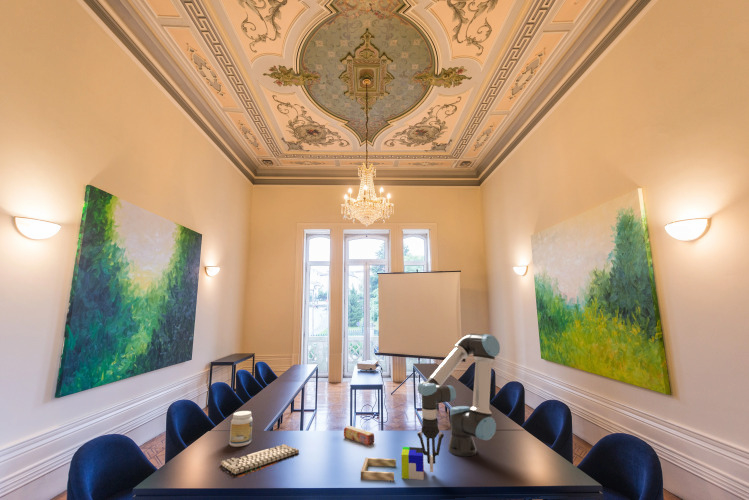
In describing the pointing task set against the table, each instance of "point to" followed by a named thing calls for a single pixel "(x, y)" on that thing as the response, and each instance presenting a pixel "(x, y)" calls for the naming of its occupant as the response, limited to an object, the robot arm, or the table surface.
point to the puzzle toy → (412, 463)
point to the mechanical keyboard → (258, 460)
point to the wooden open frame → (377, 475)
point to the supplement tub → (241, 429)
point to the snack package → (359, 435)
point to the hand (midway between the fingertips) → (431, 470)
